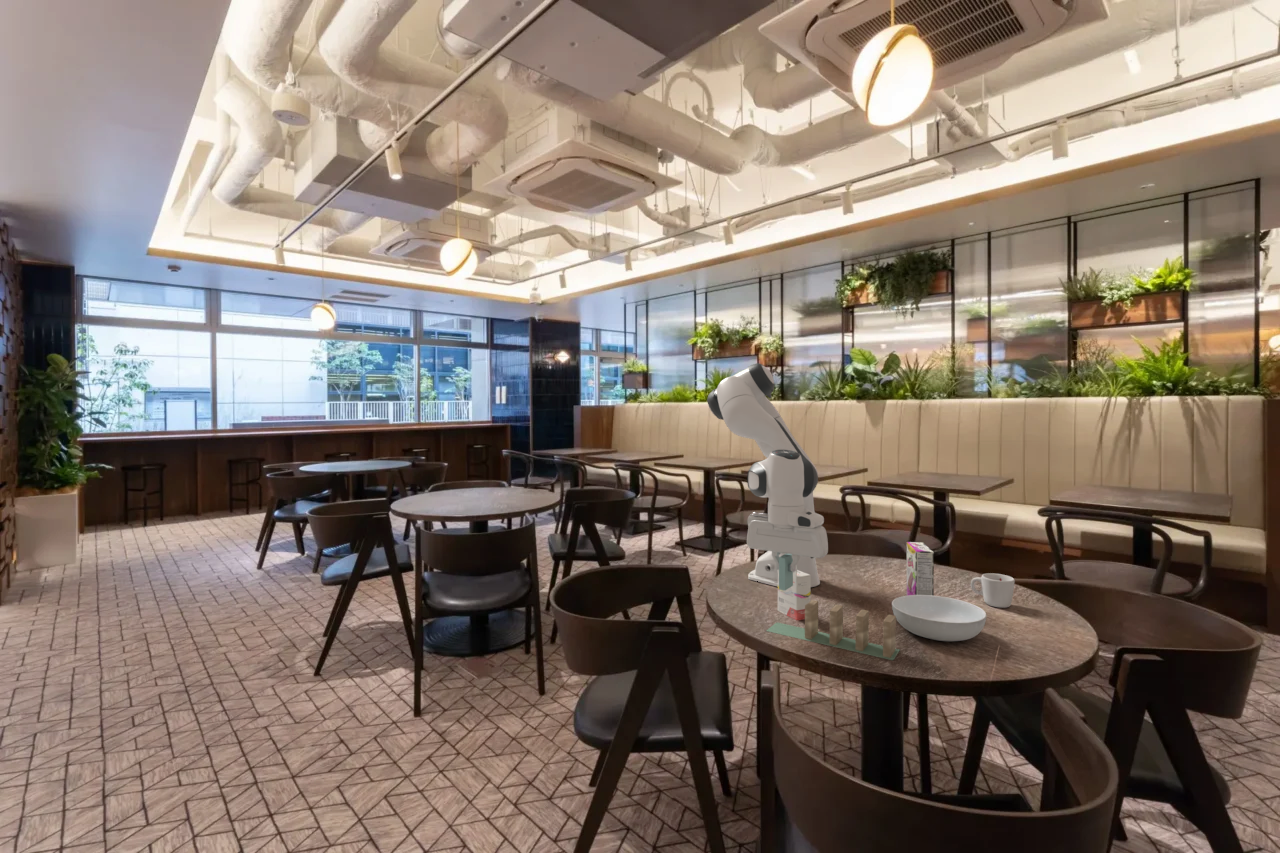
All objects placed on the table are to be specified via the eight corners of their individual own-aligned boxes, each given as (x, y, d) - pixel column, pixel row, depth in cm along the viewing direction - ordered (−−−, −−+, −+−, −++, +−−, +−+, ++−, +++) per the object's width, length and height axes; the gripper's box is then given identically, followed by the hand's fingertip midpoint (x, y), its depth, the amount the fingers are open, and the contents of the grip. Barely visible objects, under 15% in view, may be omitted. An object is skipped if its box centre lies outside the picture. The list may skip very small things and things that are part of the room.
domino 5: (882, 656, 134) (883, 621, 133) (888, 648, 138) (888, 614, 138) (890, 657, 133) (890, 622, 133) (895, 650, 137) (895, 615, 137)
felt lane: (765, 631, 149) (765, 630, 149) (776, 623, 155) (776, 622, 155) (893, 661, 132) (893, 660, 132) (900, 650, 137) (900, 649, 137)
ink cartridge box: (811, 618, 158) (812, 563, 157) (796, 621, 156) (796, 565, 155) (791, 608, 166) (791, 556, 165) (776, 610, 164) (776, 558, 163)
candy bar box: (905, 596, 175) (905, 541, 175) (923, 597, 174) (924, 542, 174) (914, 609, 164) (915, 550, 164) (934, 610, 163) (935, 551, 163)
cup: (966, 603, 169) (967, 575, 169) (974, 596, 175) (974, 569, 175) (1010, 612, 162) (1011, 583, 162) (1016, 604, 168) (1017, 576, 168)
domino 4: (855, 649, 137) (855, 615, 137) (861, 642, 141) (861, 609, 141) (862, 651, 136) (863, 617, 136) (868, 644, 140) (868, 610, 140)
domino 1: (778, 589, 147) (778, 557, 147) (786, 584, 151) (786, 553, 151) (785, 590, 146) (785, 558, 146) (792, 585, 150) (792, 554, 150)
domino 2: (804, 638, 144) (804, 605, 144) (811, 631, 148) (811, 599, 148) (811, 639, 143) (811, 606, 143) (818, 633, 147) (818, 601, 147)
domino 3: (829, 643, 141) (829, 610, 140) (835, 637, 145) (836, 604, 144) (836, 645, 140) (836, 611, 139) (842, 638, 144) (842, 605, 144)
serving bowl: (970, 622, 155) (970, 596, 154) (999, 656, 134) (999, 625, 134) (884, 616, 159) (885, 591, 159) (900, 647, 139) (900, 618, 139)
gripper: (742, 513, 152) (742, 566, 152) (821, 521, 140) (821, 580, 140) (753, 509, 157) (753, 561, 157) (830, 517, 145) (830, 573, 145)
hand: (786, 570), depth 149 cm, fingers closed on domino 1, 2 cm apart
